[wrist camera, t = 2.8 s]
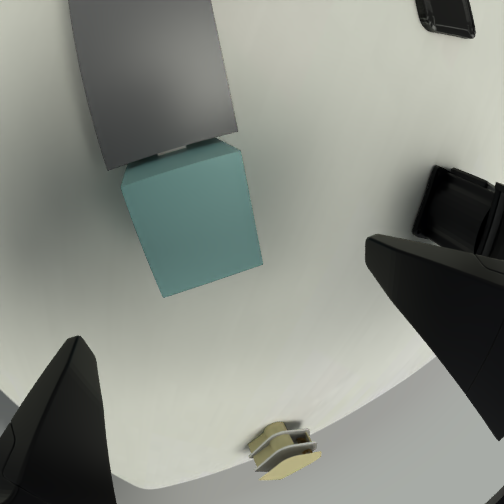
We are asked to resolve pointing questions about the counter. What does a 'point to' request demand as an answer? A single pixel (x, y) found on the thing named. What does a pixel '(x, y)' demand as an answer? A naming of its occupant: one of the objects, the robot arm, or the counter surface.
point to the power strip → (151, 75)
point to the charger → (192, 214)
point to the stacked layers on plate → (282, 451)
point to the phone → (447, 17)
